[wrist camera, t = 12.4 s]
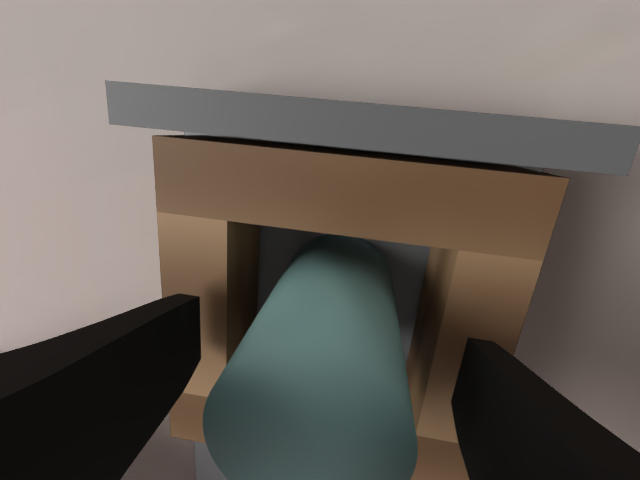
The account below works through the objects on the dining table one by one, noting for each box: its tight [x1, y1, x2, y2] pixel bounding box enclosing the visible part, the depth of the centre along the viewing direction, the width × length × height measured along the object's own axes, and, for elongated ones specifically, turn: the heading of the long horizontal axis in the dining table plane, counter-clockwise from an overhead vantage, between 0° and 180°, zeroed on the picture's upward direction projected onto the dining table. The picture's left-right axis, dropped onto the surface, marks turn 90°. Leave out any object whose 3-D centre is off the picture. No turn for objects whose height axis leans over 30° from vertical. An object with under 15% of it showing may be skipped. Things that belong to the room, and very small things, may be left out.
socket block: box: [152, 135, 570, 480], centre depth 11 cm, size 10×10×3 cm
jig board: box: [105, 80, 640, 480], centre depth 12 cm, size 20×12×4 cm, turn 174°
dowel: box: [203, 234, 418, 480], centre depth 10 cm, size 4×4×7 cm
